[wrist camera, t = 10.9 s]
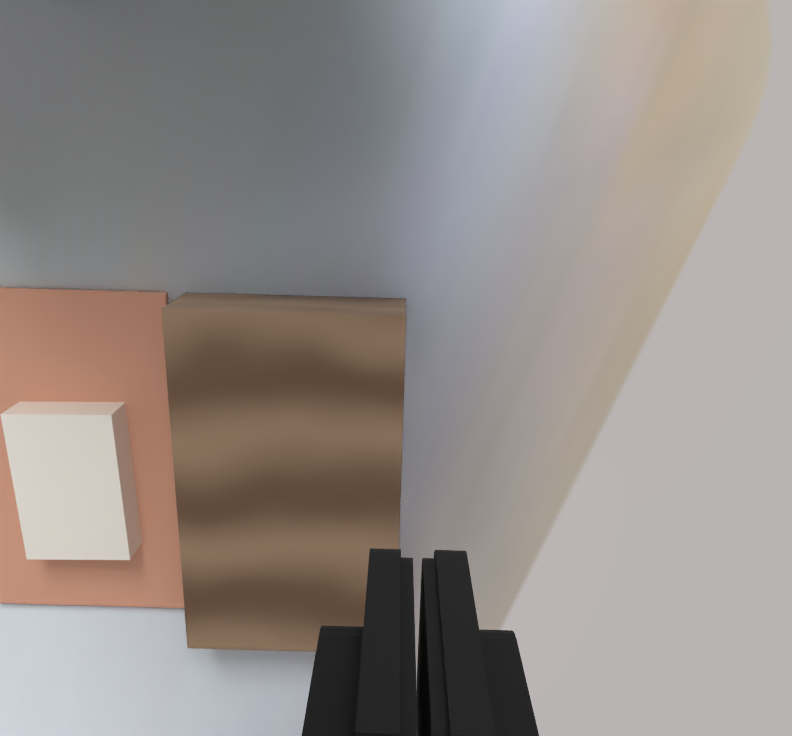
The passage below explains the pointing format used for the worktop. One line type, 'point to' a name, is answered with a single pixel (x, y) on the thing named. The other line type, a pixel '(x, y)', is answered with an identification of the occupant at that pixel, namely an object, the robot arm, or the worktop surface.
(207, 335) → the walnut block
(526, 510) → the worktop surface
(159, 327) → the rubber mat
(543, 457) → the worktop surface
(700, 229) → the worktop surface
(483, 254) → the worktop surface
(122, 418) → the ceramic tile
